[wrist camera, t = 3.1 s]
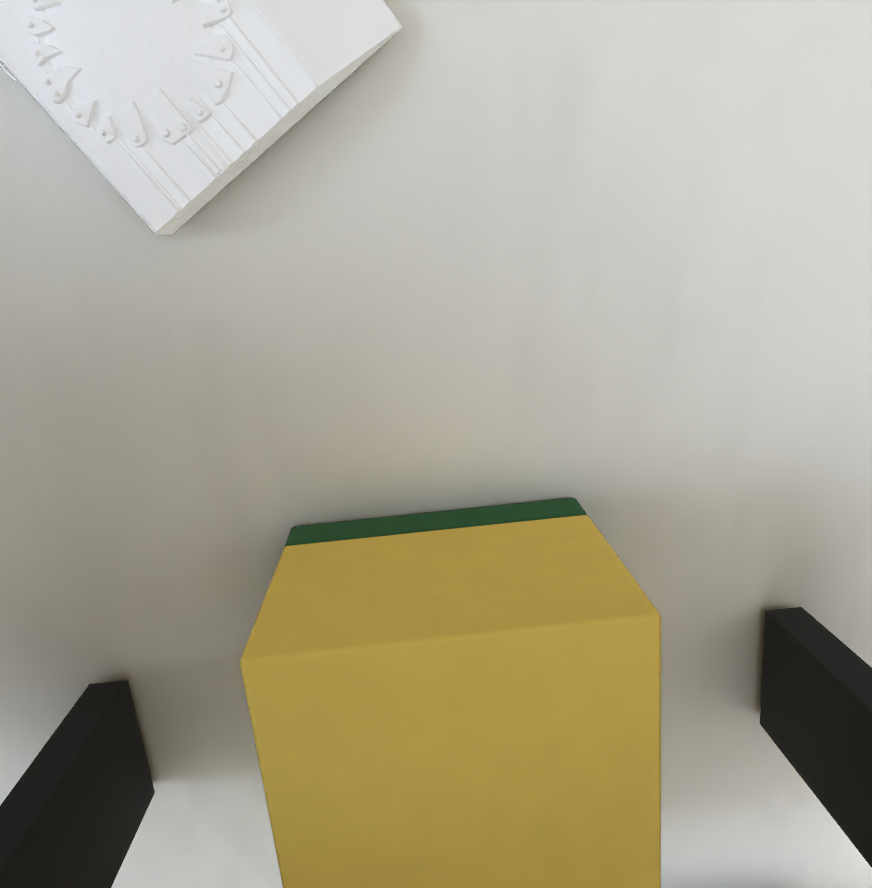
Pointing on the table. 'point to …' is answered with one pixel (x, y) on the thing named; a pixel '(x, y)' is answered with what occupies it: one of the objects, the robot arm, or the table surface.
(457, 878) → the sponge
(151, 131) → the white slab
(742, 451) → the table surface
